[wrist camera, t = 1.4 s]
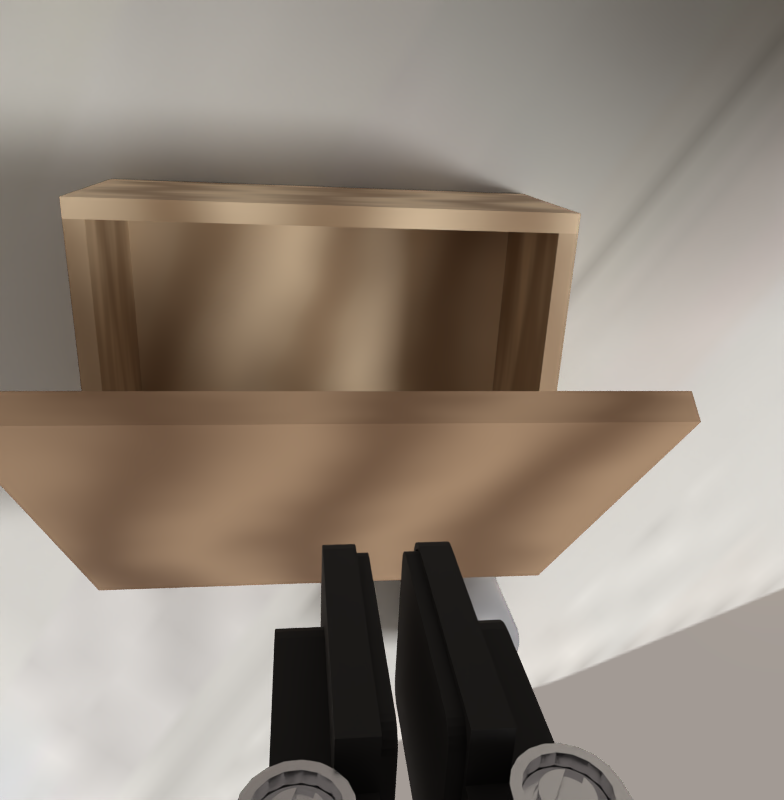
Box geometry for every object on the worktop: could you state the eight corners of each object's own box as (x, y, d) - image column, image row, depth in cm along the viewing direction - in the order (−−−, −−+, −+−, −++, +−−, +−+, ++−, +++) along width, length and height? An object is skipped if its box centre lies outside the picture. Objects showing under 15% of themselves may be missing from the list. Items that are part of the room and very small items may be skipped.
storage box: (523, 193, 37) (580, 213, 29) (493, 477, 42) (534, 553, 35) (110, 178, 34) (59, 196, 27) (138, 482, 40) (101, 566, 32)
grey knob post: (500, 549, 44) (524, 600, 40) (491, 630, 47) (513, 687, 42) (403, 552, 44) (416, 604, 39) (398, 633, 46) (410, 692, 41)
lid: (691, 391, 21) (700, 421, 21) (534, 554, 35) (538, 575, 34) (-46, 391, 18) (-55, 426, 18) (101, 567, 32) (98, 590, 32)
